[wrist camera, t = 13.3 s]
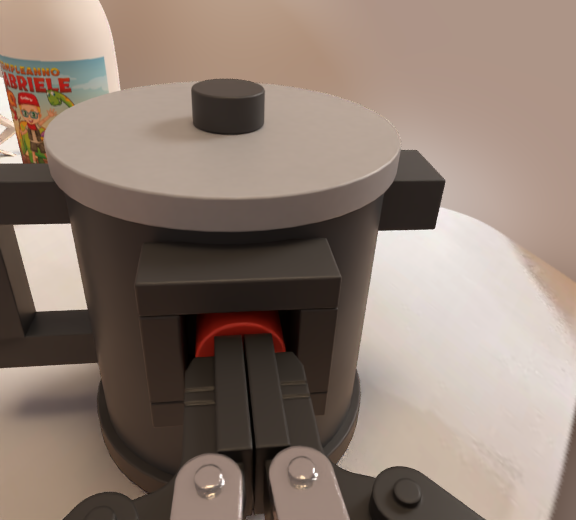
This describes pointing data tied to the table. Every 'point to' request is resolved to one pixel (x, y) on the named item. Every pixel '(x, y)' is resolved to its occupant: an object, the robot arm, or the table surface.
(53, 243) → the table surface
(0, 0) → the milk bottle
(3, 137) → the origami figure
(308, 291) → the kettle jug
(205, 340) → the kettle button
